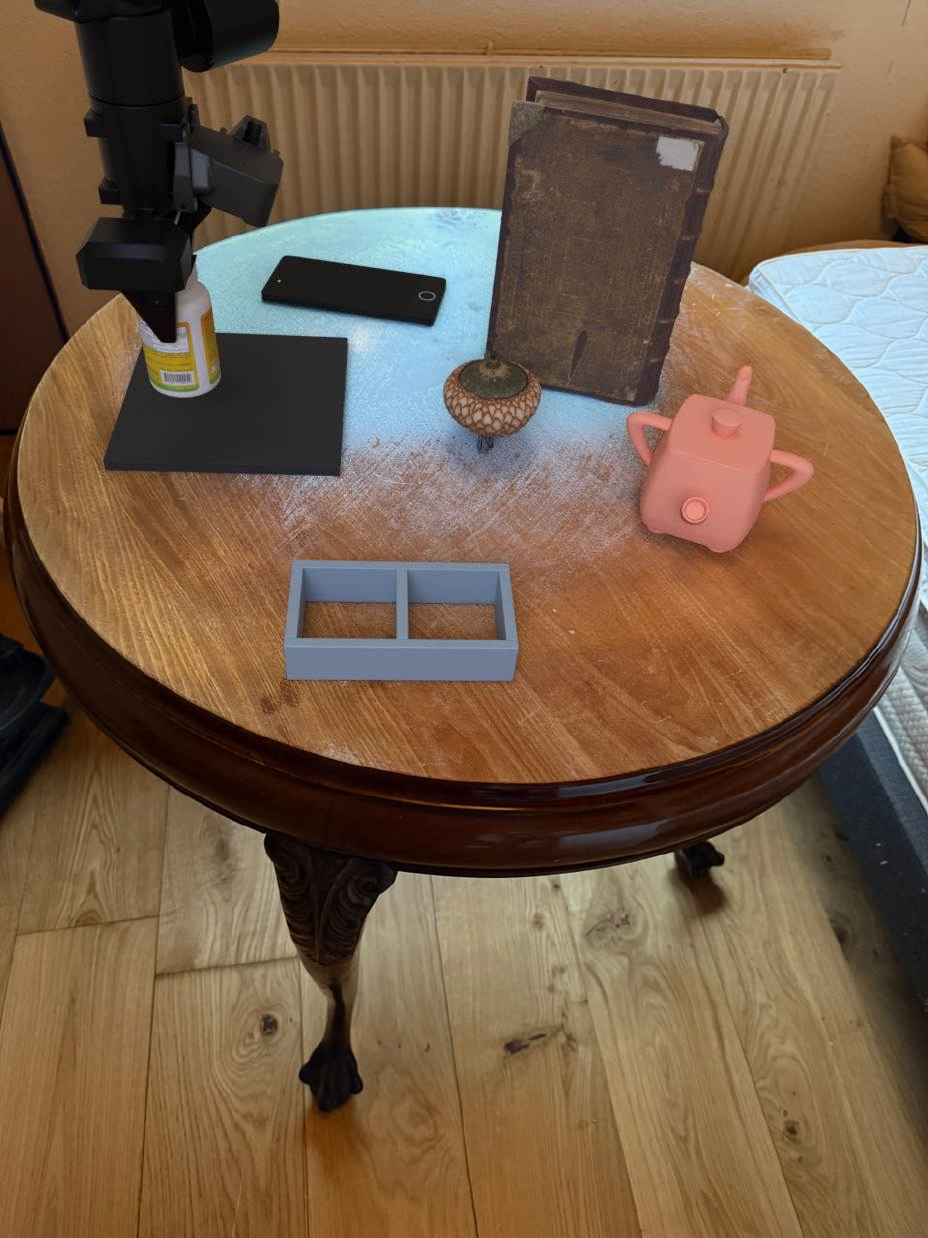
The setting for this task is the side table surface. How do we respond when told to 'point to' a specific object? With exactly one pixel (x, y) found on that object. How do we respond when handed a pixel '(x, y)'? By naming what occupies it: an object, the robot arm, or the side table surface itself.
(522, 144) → the book
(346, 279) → the cell phone
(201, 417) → the mat
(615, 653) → the side table surface
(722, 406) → the teapot
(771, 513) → the side table surface
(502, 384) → the acorn
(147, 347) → the supplement bottle
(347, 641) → the holder
